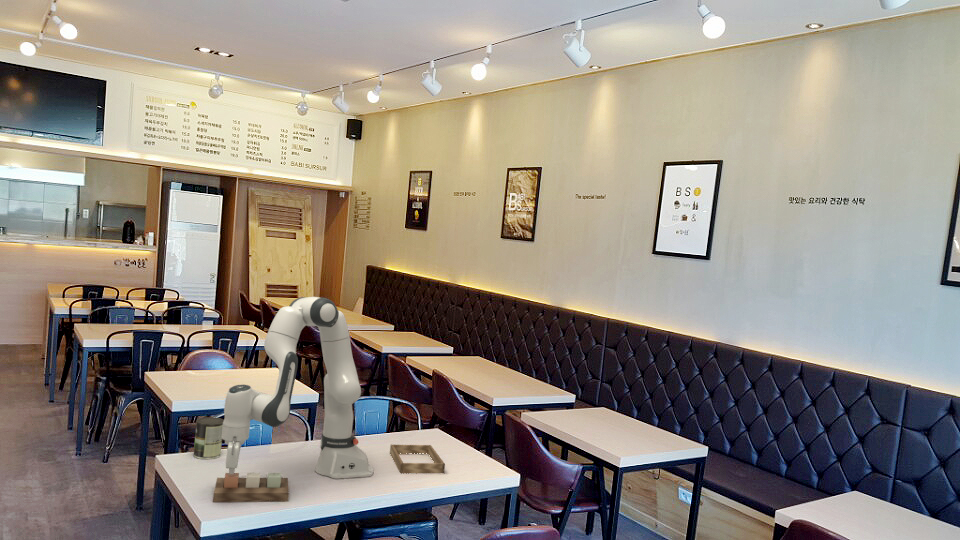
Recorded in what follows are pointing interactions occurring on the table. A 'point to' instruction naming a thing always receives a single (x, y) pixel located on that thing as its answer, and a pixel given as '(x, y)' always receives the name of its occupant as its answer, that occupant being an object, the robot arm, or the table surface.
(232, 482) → the key terracotta
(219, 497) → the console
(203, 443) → the coffee can
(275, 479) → the key sage
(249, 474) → the cream cube
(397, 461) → the frame
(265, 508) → the table surface
